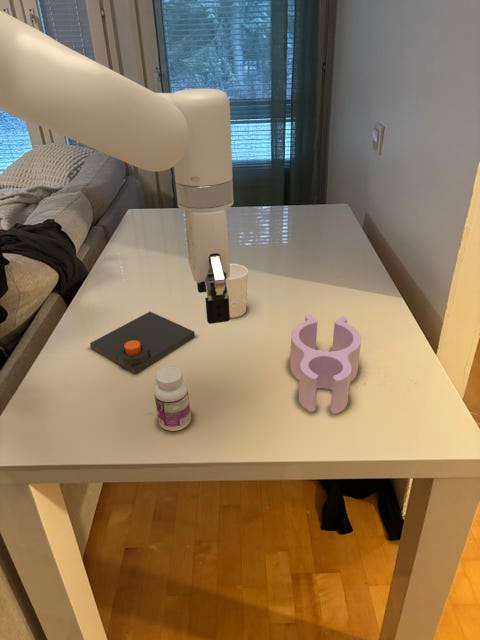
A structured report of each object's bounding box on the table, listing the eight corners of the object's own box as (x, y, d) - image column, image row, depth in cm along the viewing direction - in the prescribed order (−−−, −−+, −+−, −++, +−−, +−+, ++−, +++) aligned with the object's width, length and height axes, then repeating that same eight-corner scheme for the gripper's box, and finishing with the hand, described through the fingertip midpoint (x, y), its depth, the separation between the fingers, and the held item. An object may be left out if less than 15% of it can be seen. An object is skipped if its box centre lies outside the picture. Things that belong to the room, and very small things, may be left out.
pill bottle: (156, 413, 78) (149, 367, 73) (188, 406, 79) (182, 360, 74) (161, 435, 74) (153, 388, 69) (194, 428, 75) (189, 381, 70)
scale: (133, 375, 87) (131, 362, 85) (89, 349, 95) (86, 337, 93) (195, 337, 98) (193, 324, 96) (150, 316, 105) (149, 305, 104)
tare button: (132, 357, 87) (131, 350, 87) (122, 352, 89) (120, 345, 88) (144, 350, 89) (143, 343, 89) (134, 345, 91) (133, 338, 90)
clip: (361, 416, 76) (366, 382, 72) (285, 409, 78) (286, 376, 74) (355, 347, 93) (359, 317, 89) (292, 343, 95) (293, 313, 91)
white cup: (248, 319, 103) (247, 278, 98) (213, 319, 103) (210, 279, 98) (248, 302, 110) (248, 263, 105) (215, 302, 110) (213, 263, 105)
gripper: (170, 179, 68) (182, 283, 77) (184, 216, 54) (196, 339, 63) (221, 175, 70) (226, 278, 78) (247, 210, 55) (250, 331, 64)
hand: (212, 305), depth 71 cm, fingers open, 9 cm apart
